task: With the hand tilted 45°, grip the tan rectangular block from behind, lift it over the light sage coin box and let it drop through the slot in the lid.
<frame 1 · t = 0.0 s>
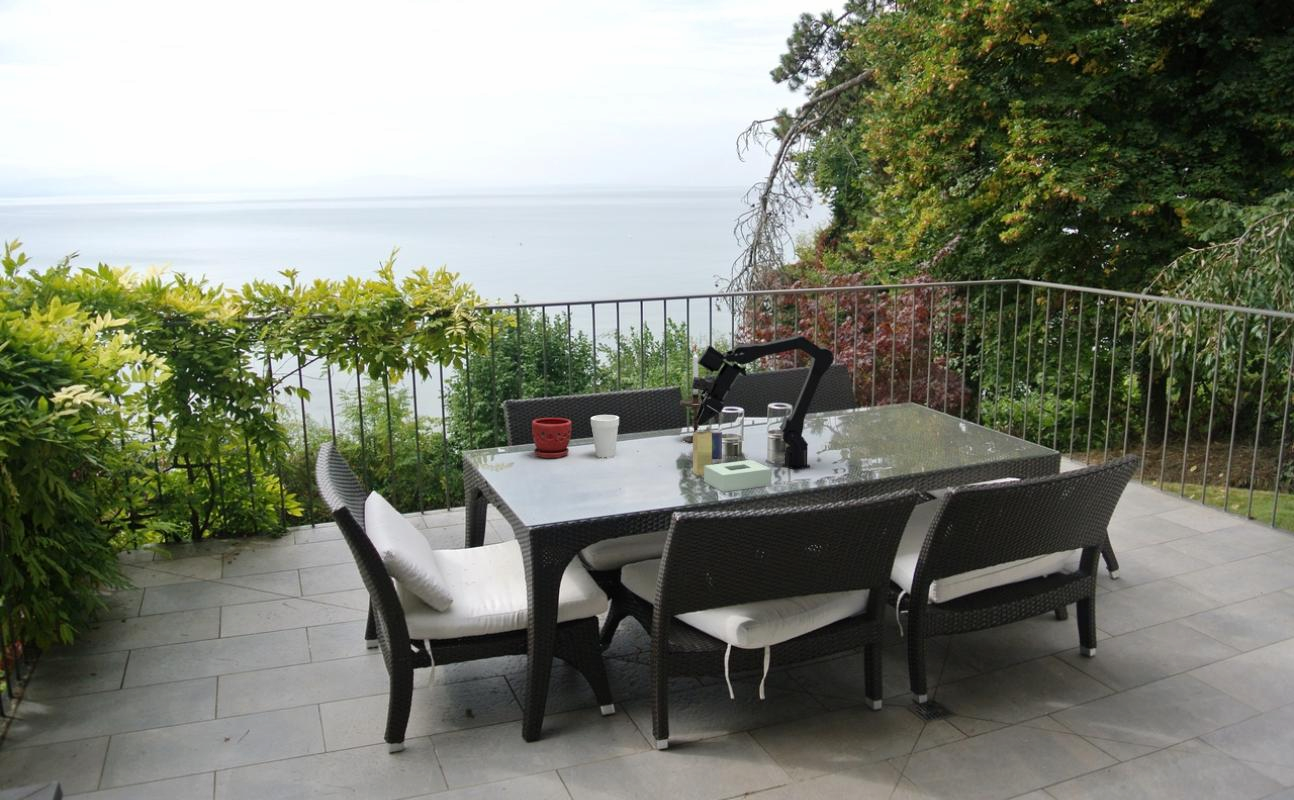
hand: (697, 421, 299), 15 cm above the table, tool tilted 35°, fingers open, 9 cm apart
flask: (708, 458, 314), on the table
coin box: (737, 483, 283), on the table
foam cup: (605, 456, 319), on the table
tan rectangular block: (702, 473, 295), on the table
candlestick: (695, 441, 338), on the table
plant pot: (552, 455, 321), on the table
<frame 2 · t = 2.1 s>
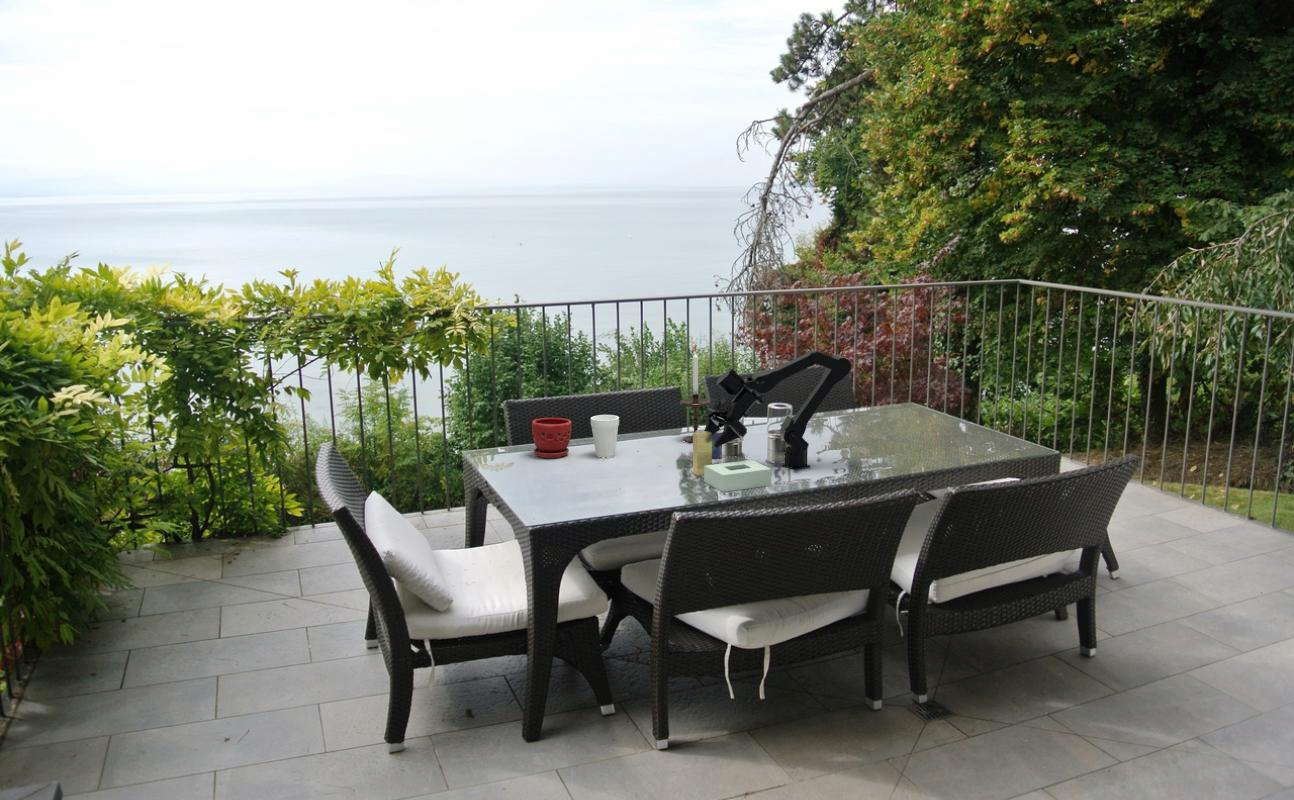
hand: (708, 443, 294), 9 cm above the table, tool tilted 45°, fingers open, 9 cm apart
nothing on the table moved.
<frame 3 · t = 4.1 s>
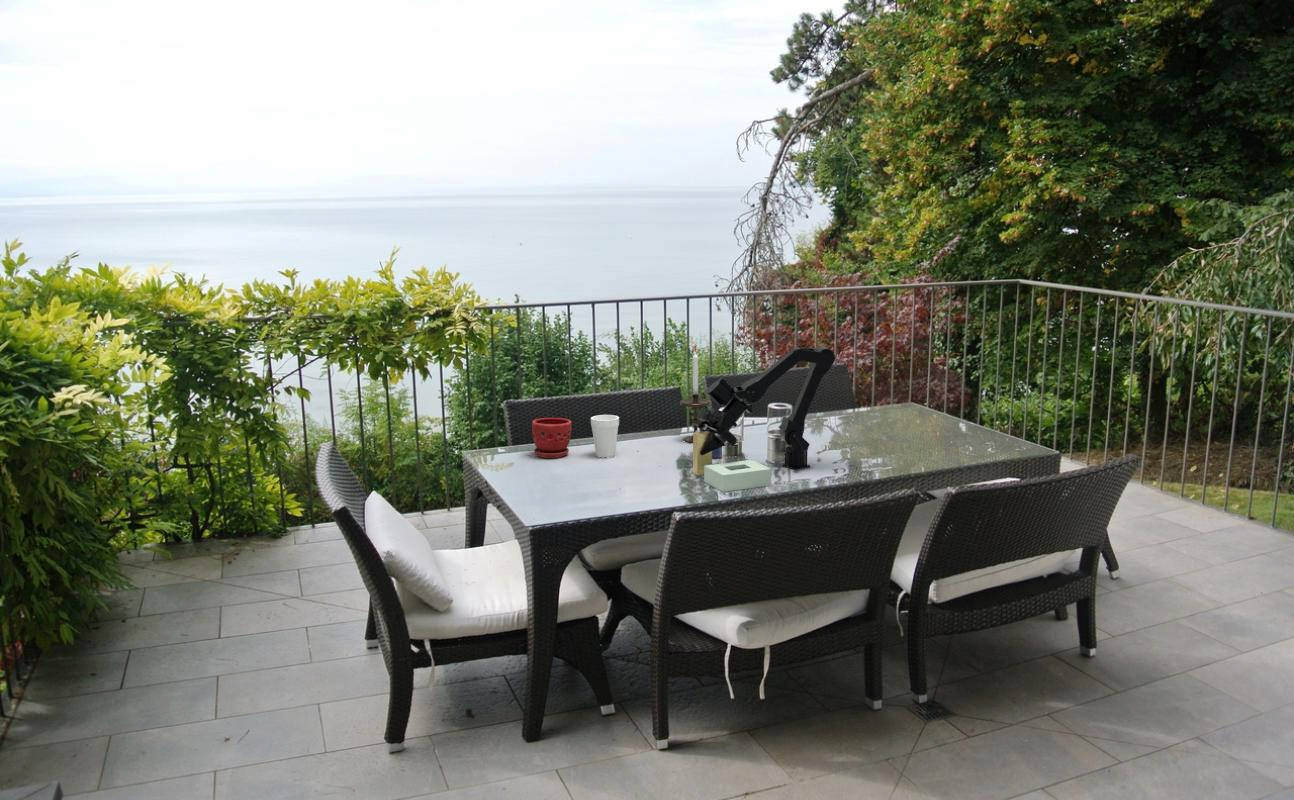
hand: (698, 453, 293), 7 cm above the table, tool tilted 45°, fingers closed on tan rectangular block, 3 cm apart
tan rectangular block: (702, 473, 295), on the table, touching gripper
everything else where it was.
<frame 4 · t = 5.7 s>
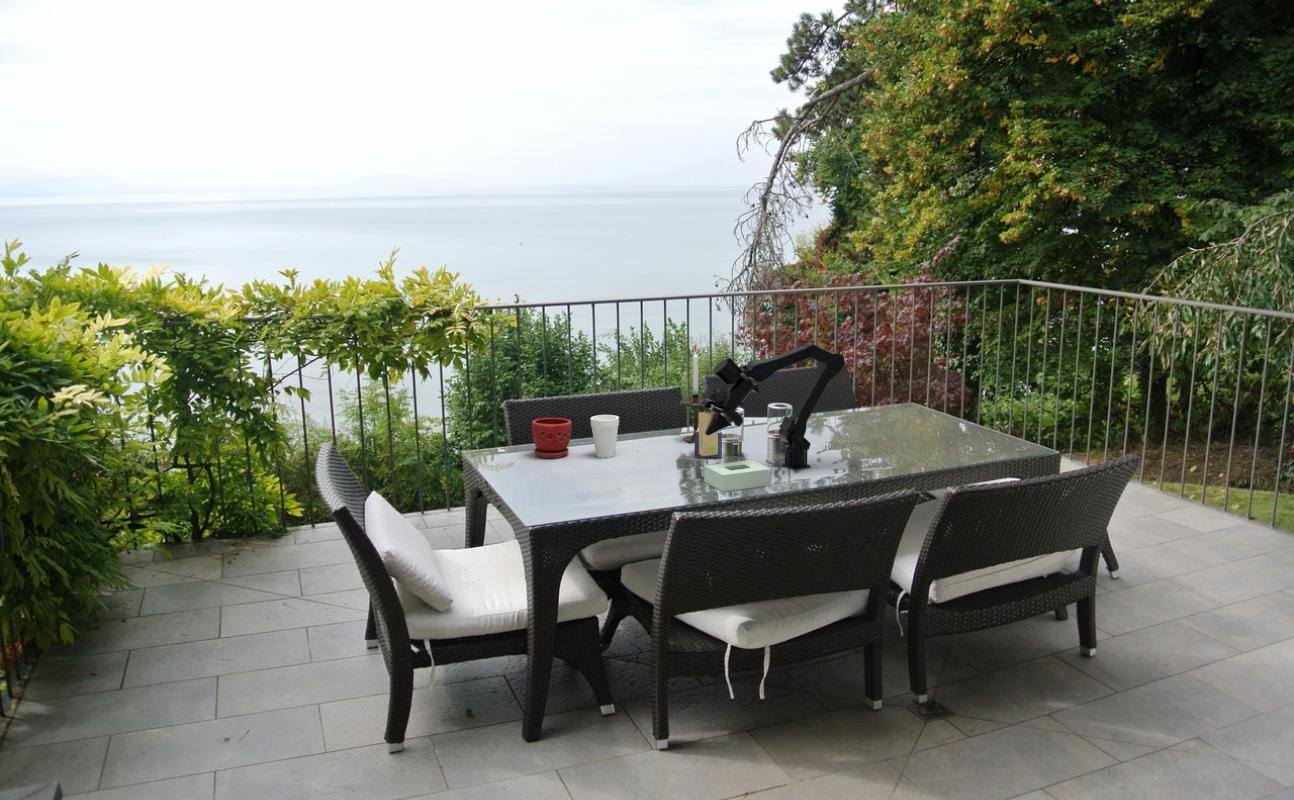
hand: (704, 433, 290), 13 cm above the table, tool tilted 45°, fingers closed on tan rectangular block, 3 cm apart
tan rectangular block: (708, 454, 292), point 7 cm above the table, touching gripper
everything else where it was.
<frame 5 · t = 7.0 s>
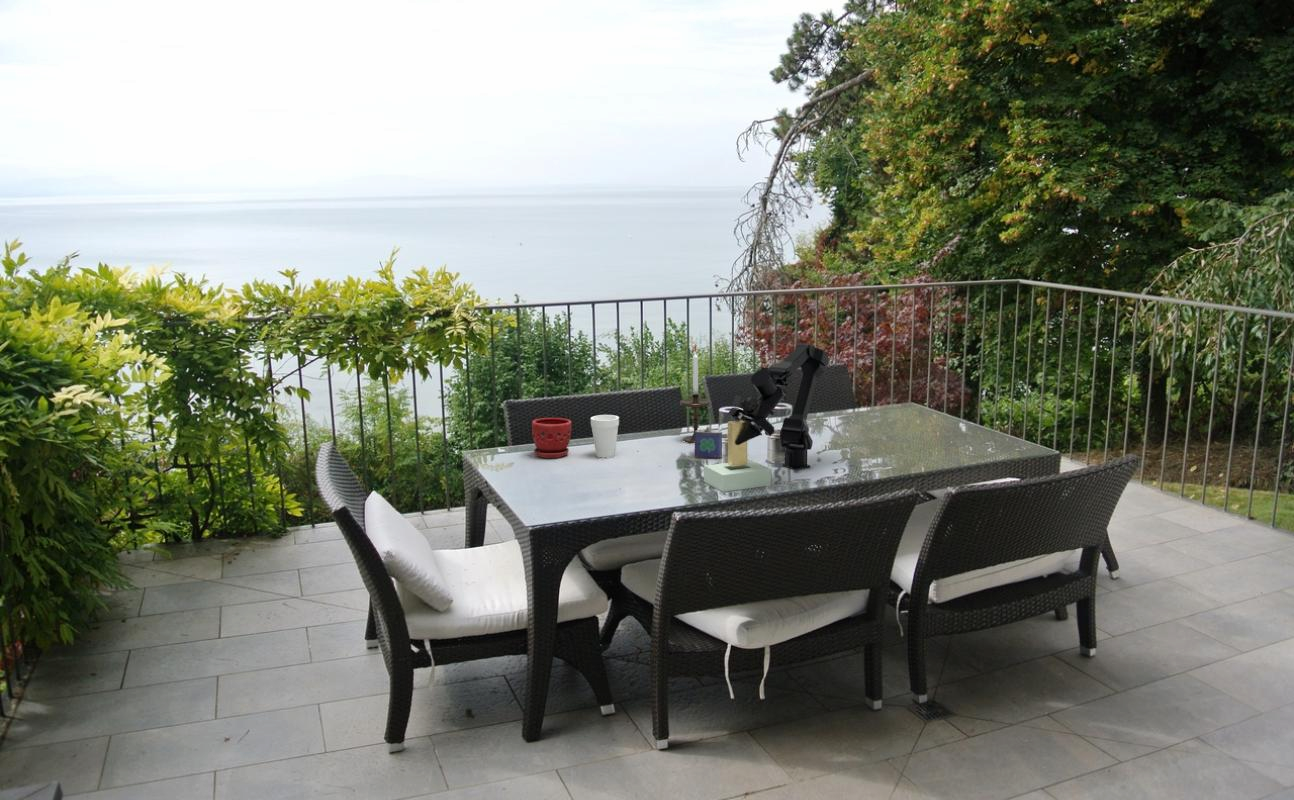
hand: (733, 443, 280), 13 cm above the table, tool tilted 45°, fingers closed on tan rectangular block, 3 cm apart
tan rectangular block: (737, 464, 282), point 6 cm above the table, touching gripper
everything else where it was.
when the fingers open (12 cm above the table, at t = 7.5 s): tan rectangular block drops 6 cm, resting in coin box.
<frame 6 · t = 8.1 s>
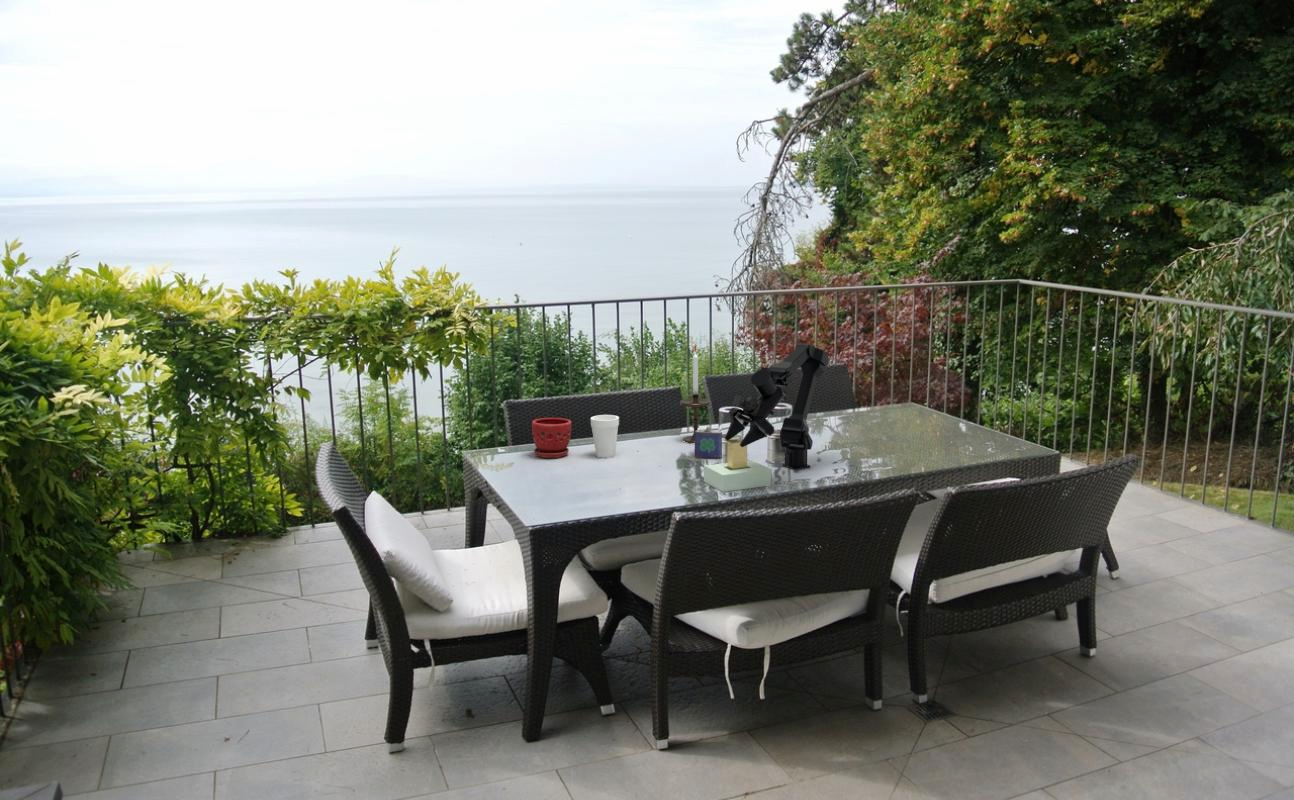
hand: (733, 443, 280), 13 cm above the table, tool tilted 45°, fingers open, 9 cm apart
tan rectangular block: (737, 483, 283), resting in coin box
everything else where it was.
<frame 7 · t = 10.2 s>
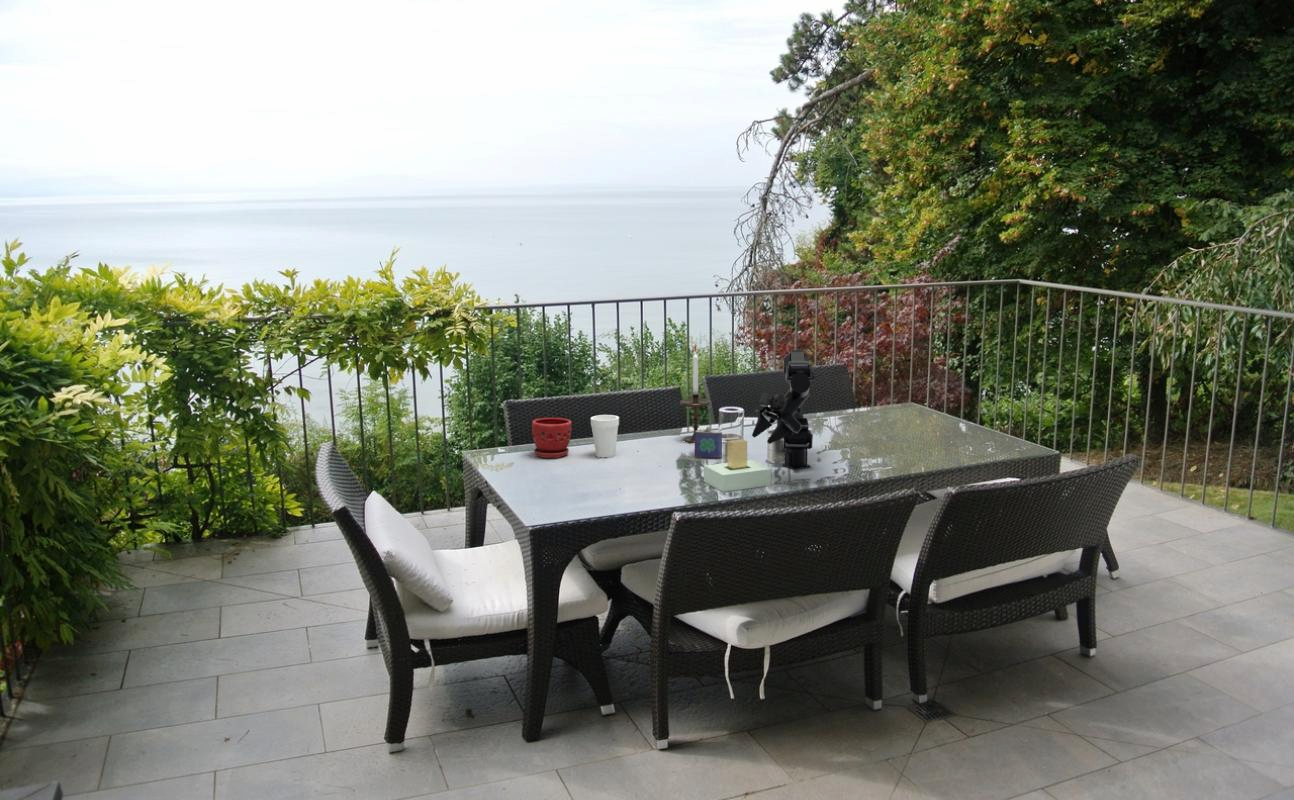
hand: (760, 439, 284), 13 cm above the table, tool tilted 45°, fingers open, 9 cm apart
nothing on the table moved.
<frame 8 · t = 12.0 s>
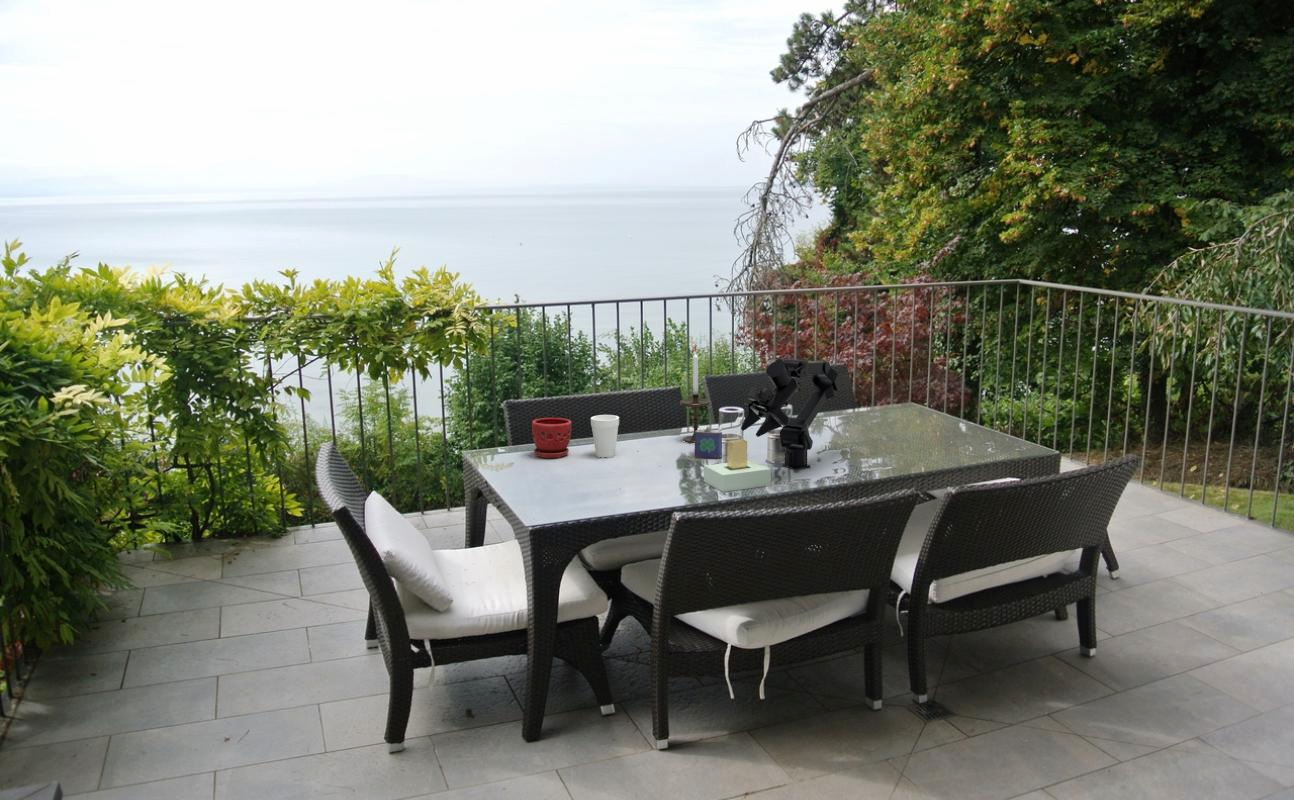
hand: (749, 432, 289), 14 cm above the table, tool tilted 45°, fingers open, 9 cm apart
nothing on the table moved.
at the end: tan rectangular block inside the target area on the coin box (0.1 cm from its centre), point 0.0 cm above the coin box's base; the gripper is holding nothing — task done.
